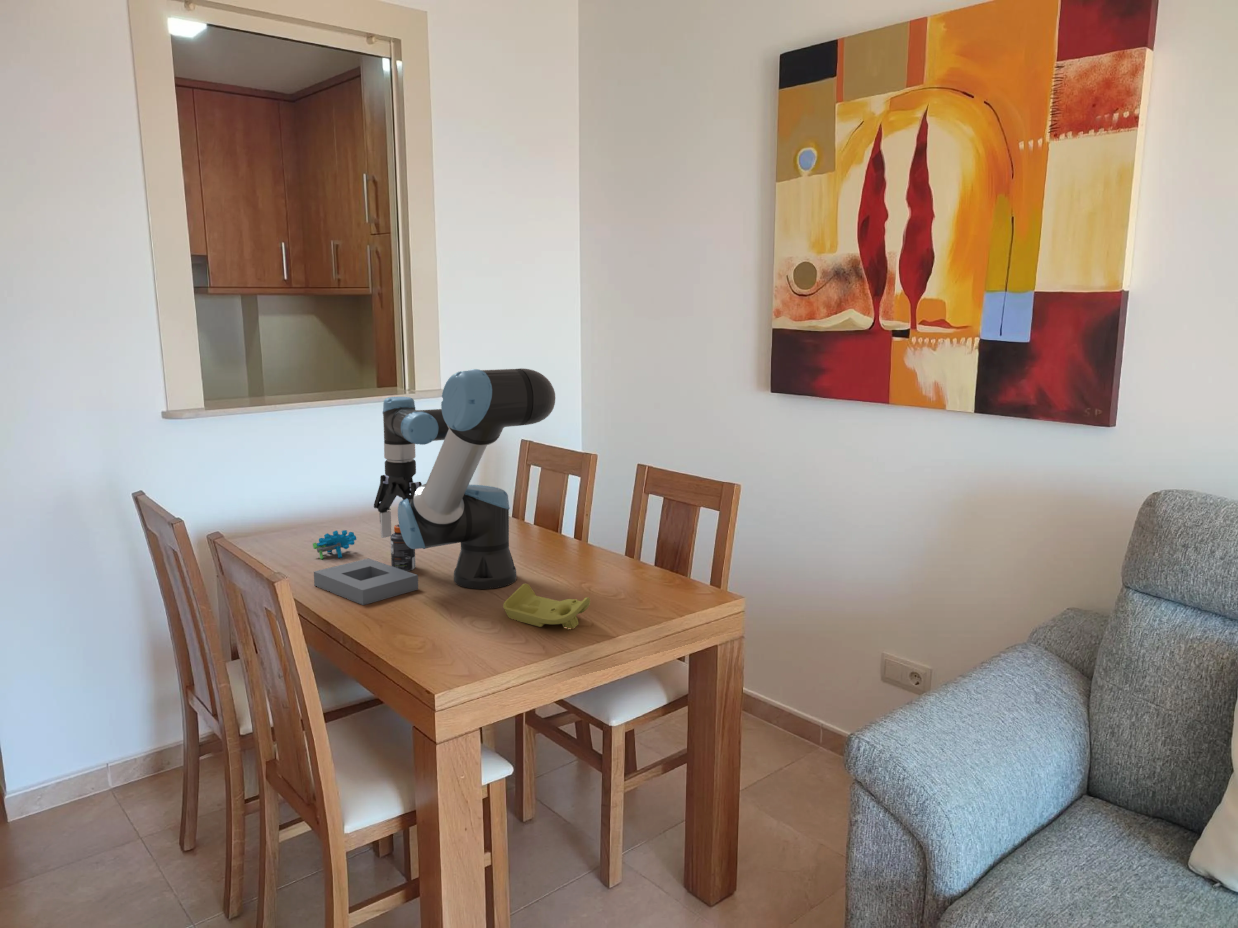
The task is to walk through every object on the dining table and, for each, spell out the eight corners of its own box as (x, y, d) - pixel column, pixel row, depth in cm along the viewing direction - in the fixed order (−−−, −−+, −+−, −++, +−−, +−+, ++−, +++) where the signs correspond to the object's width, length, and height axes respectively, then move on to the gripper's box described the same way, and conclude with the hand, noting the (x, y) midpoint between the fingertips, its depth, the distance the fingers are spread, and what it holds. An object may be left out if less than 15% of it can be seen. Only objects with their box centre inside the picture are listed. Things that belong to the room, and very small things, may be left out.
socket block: (418, 589, 205) (417, 574, 204) (363, 605, 193) (362, 590, 193) (368, 571, 217) (368, 558, 217) (314, 585, 206) (313, 571, 205)
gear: (356, 543, 237) (354, 524, 229) (360, 561, 234) (358, 543, 226) (314, 552, 233) (310, 533, 225) (318, 571, 230) (314, 553, 222)
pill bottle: (420, 567, 222) (419, 524, 220) (405, 573, 216) (403, 529, 214) (402, 563, 224) (400, 521, 222) (386, 569, 219) (384, 526, 217)
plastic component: (498, 607, 187) (528, 578, 193) (511, 633, 190) (540, 603, 196) (562, 623, 174) (592, 592, 180) (575, 651, 177) (605, 619, 183)
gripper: (444, 464, 210) (445, 548, 214) (383, 450, 226) (385, 529, 230) (418, 468, 205) (420, 555, 209) (358, 454, 220) (360, 535, 224)
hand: (402, 542), depth 219 cm, fingers open, 13 cm apart
